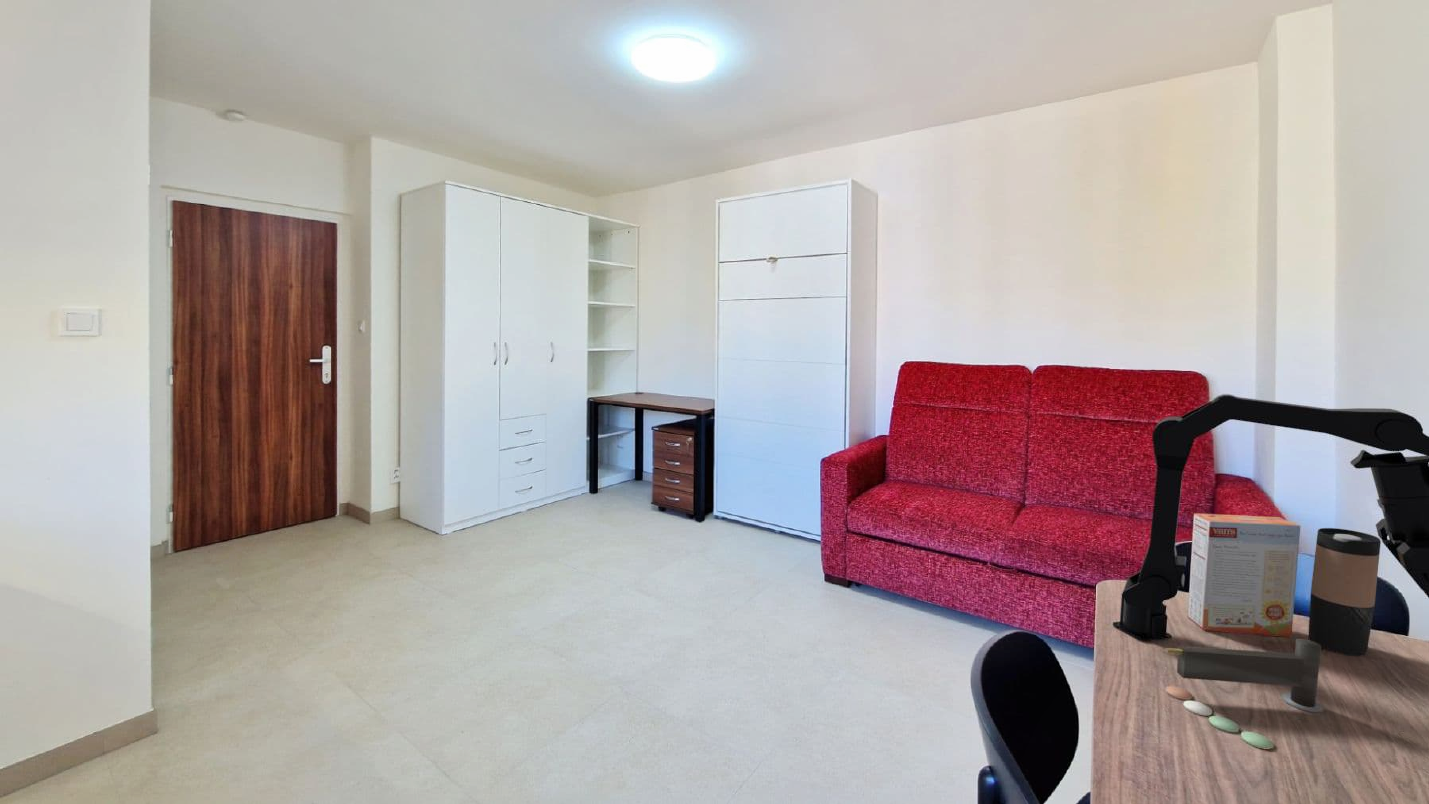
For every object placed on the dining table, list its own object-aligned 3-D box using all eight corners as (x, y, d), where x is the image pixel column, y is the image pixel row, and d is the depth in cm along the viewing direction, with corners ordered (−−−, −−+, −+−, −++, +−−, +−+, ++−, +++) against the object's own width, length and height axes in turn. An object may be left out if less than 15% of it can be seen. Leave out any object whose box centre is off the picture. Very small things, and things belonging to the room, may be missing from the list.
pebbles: (1155, 689, 92) (1155, 687, 91) (1260, 674, 95) (1261, 673, 95) (1255, 751, 78) (1255, 749, 78) (1374, 731, 82) (1374, 729, 82)
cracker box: (1270, 623, 113) (1280, 515, 111) (1292, 639, 107) (1304, 525, 105) (1184, 616, 116) (1192, 511, 114) (1202, 630, 110) (1211, 520, 108)
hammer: (1158, 685, 92) (1162, 630, 91) (1305, 697, 89) (1311, 639, 88) (1168, 695, 89) (1172, 638, 89) (1320, 707, 86) (1326, 648, 86)
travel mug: (1350, 638, 107) (1362, 530, 105) (1381, 660, 100) (1394, 544, 98) (1296, 632, 109) (1306, 525, 107) (1322, 652, 102) (1334, 539, 100)
